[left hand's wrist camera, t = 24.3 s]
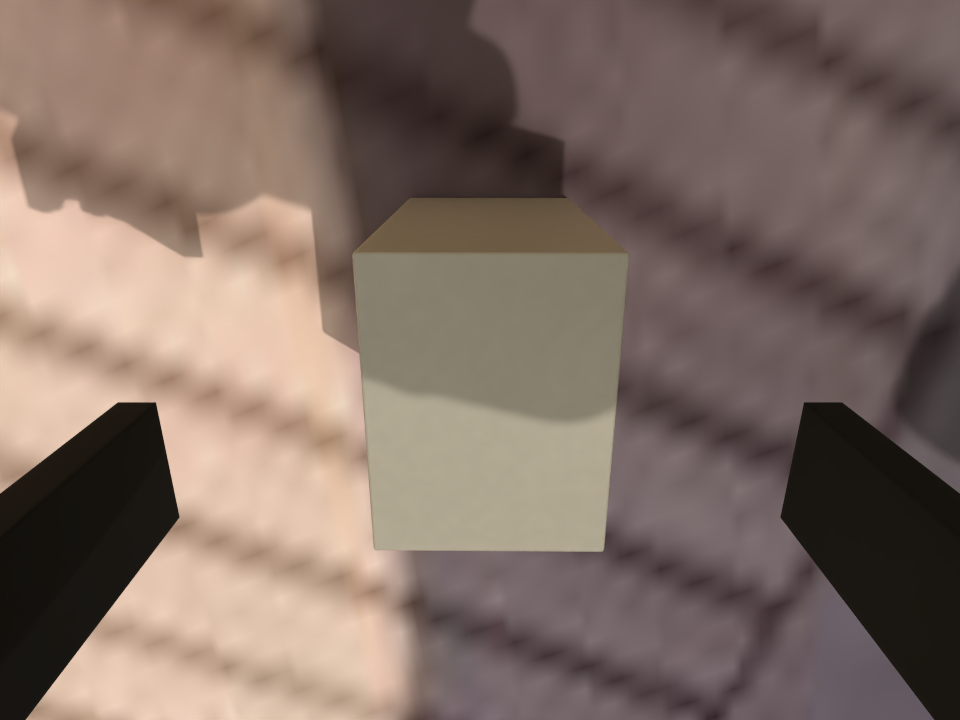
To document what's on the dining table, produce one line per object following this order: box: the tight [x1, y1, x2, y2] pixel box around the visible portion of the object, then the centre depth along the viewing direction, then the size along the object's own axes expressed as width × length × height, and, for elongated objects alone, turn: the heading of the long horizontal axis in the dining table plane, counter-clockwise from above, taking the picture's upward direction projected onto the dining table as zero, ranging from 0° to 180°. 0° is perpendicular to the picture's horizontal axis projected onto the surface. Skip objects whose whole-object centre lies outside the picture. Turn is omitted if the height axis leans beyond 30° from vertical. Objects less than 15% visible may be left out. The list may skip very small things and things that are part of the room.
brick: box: [352, 198, 629, 552], centre depth 20 cm, size 6×8×11 cm
